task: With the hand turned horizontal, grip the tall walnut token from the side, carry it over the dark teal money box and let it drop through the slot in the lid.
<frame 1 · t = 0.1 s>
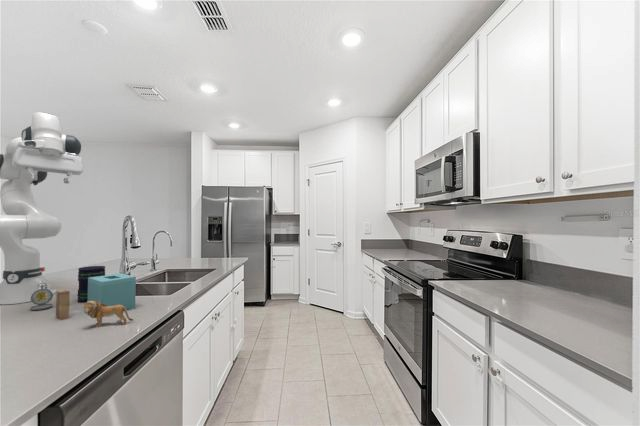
hand: (51, 181, 110), 52 cm above the countertop, tool tilted 20°, fingers open, 8 cm apart
pocket watch: (42, 308, 118), on the countertop
walnut token: (62, 317, 106), on the countertop
lion figurine: (106, 325, 99), on the countertop
money box: (111, 308, 117), on the countertop
storage jar: (91, 300, 130), on the countertop
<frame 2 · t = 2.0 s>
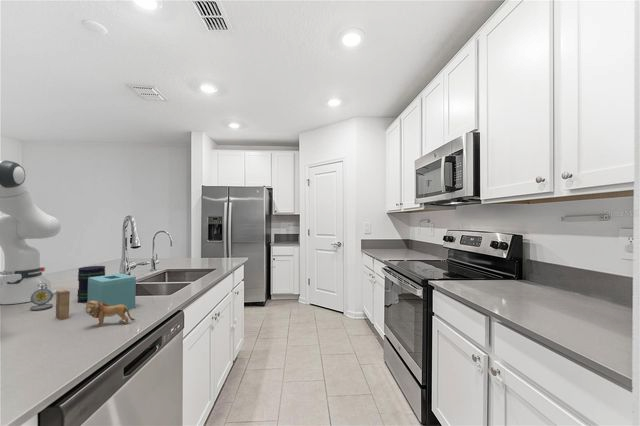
hand: (17, 275, 96), 18 cm above the countertop, tool horizontal, fingers open, 8 cm apart
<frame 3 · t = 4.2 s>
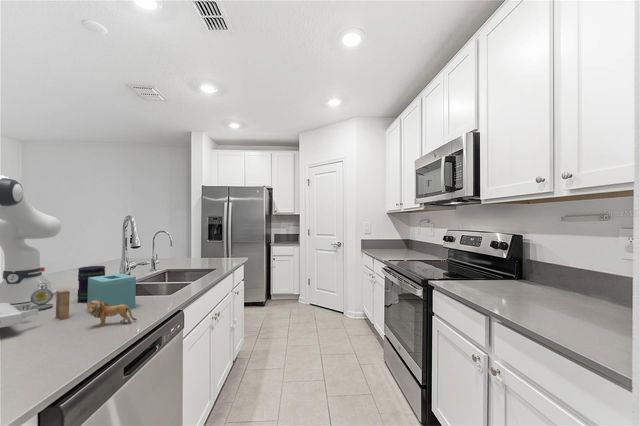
hand: (34, 308, 100), 5 cm above the countertop, tool horizontal, fingers open, 8 cm apart
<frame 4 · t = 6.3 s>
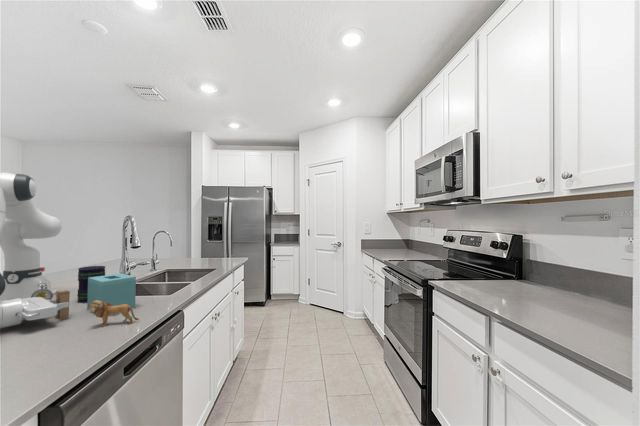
hand: (65, 302, 107), 6 cm above the countertop, tool horizontal, fingers closed on walnut token, 5 cm apart
walnut token: (62, 317, 106), on the countertop, touching gripper
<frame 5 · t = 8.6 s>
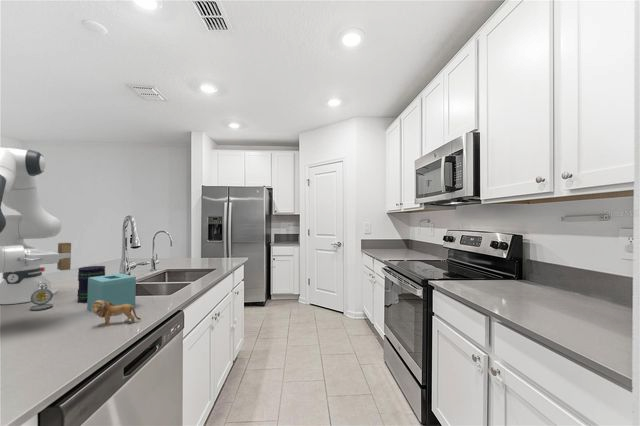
hand: (67, 254, 107), 24 cm above the countertop, tool horizontal, fingers closed on walnut token, 5 cm apart
walnut token: (63, 269, 107), point 18 cm above the countertop, touching gripper
when the fingers open (19 cm above the countertop, at t = 11.3 s): walnut token drops 12 cm, resting on money box.
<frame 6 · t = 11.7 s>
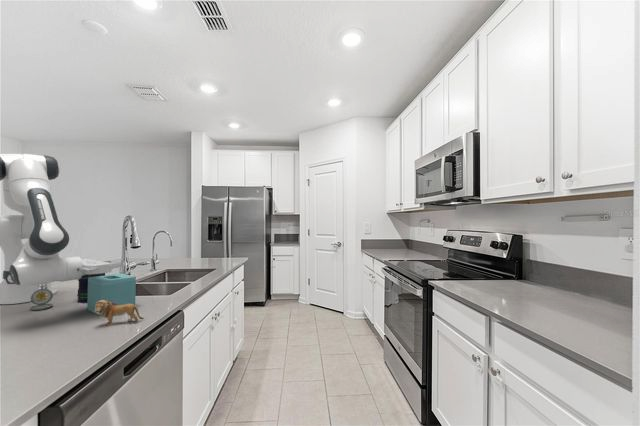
hand: (115, 263, 119), 19 cm above the countertop, tool horizontal, fingers open, 8 cm apart
walnut token: (111, 306, 118), point 1 cm above the countertop, touching money box
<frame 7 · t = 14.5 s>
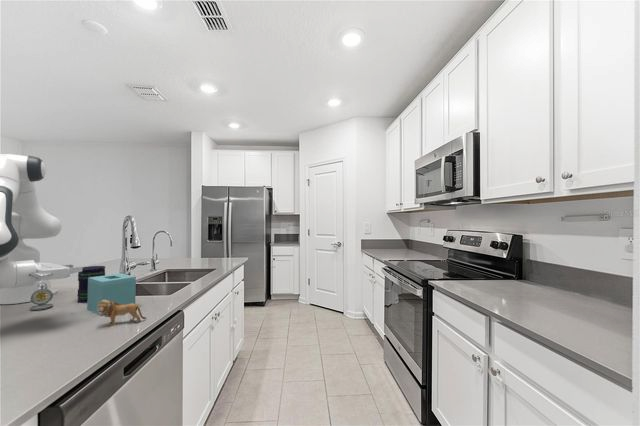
hand: (77, 267, 108), 19 cm above the countertop, tool horizontal, fingers open, 8 cm apart
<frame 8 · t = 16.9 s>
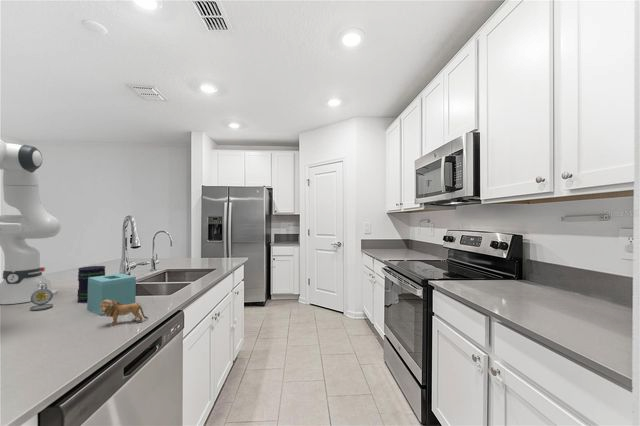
hand: (33, 228, 102), 34 cm above the countertop, tool horizontal, fingers open, 8 cm apart
at the end: walnut token 0.1 cm from the money box (horizontally); walnut token point 1.0 cm above the countertop; the gripper is holding nothing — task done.
